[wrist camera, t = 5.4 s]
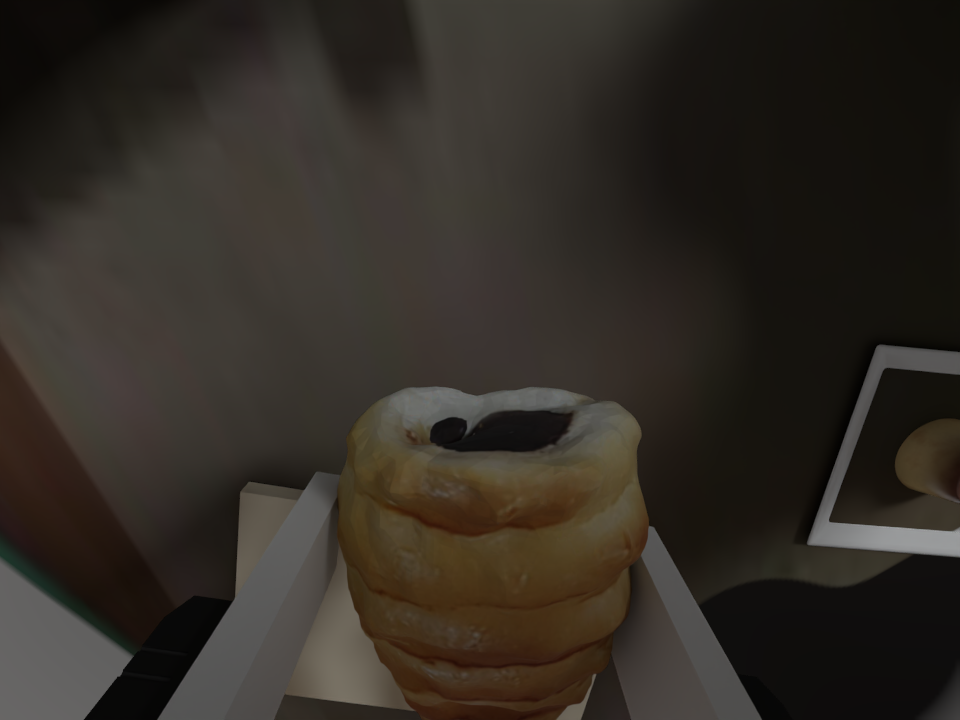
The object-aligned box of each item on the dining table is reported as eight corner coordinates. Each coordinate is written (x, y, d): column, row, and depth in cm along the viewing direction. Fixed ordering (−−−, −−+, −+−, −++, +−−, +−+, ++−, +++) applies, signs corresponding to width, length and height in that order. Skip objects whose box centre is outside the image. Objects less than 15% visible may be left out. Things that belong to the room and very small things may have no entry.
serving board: (631, 541, 27) (637, 553, 26) (573, 715, 31) (576, 731, 30) (249, 481, 26) (240, 491, 25) (238, 672, 30) (230, 687, 29)
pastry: (602, 675, 14) (645, 841, 10) (374, 675, 14) (334, 840, 10) (628, 372, 11) (700, 451, 7) (342, 375, 11) (272, 453, 7)
